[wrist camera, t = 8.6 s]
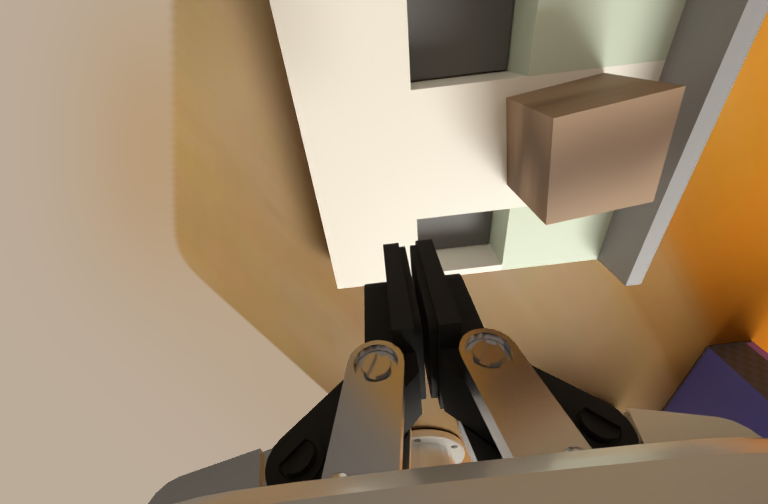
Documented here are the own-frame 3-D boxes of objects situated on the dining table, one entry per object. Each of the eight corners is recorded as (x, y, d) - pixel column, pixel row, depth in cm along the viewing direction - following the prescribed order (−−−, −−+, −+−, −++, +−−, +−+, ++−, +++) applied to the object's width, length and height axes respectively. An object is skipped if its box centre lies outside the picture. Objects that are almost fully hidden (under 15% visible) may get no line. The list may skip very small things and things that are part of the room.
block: (590, 165, 19) (653, 201, 15) (506, 184, 20) (545, 225, 15) (604, 72, 16) (685, 85, 12) (506, 97, 17) (553, 118, 13)
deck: (340, 264, 26) (335, 318, 21) (278, -15, 16) (241, -37, 11) (587, 235, 26) (640, 284, 21) (678, -64, 16) (822, -107, 11)
